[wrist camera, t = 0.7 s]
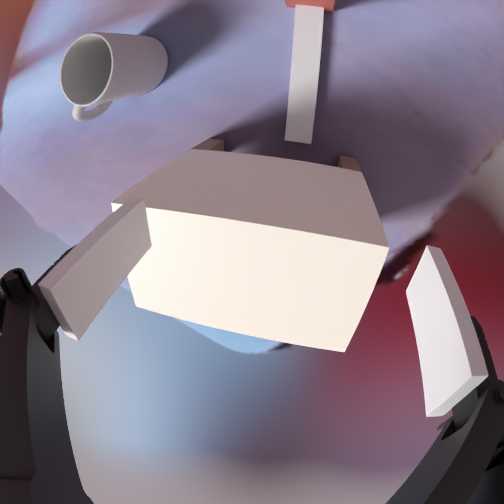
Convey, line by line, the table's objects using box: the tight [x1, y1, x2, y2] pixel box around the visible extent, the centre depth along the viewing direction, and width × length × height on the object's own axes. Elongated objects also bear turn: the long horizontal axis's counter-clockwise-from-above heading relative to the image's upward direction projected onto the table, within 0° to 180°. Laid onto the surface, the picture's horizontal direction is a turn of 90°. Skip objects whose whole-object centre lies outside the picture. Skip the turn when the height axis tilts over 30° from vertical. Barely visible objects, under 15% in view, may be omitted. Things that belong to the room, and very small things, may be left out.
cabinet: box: [111, 139, 389, 352], centre depth 27 cm, size 10×19×20 cm, turn 87°
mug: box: [60, 32, 168, 121], centre depth 25 cm, size 12×8×11 cm
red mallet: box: [285, 0, 335, 144], centre depth 21 cm, size 22×5×11 cm, turn 177°
